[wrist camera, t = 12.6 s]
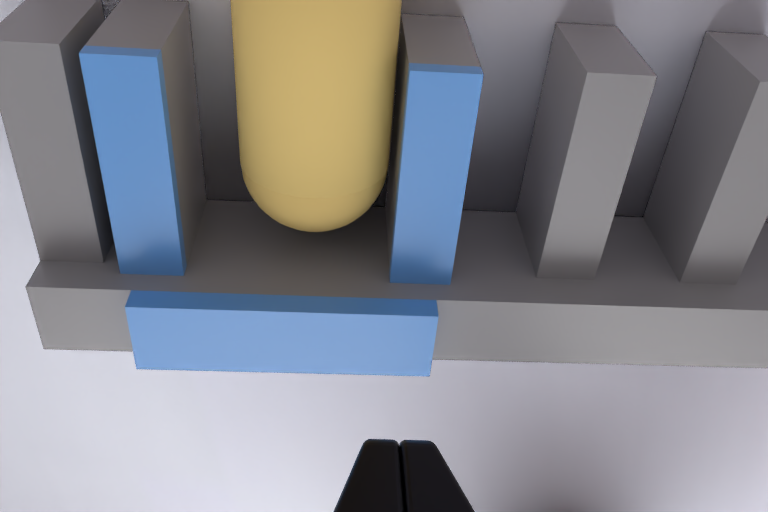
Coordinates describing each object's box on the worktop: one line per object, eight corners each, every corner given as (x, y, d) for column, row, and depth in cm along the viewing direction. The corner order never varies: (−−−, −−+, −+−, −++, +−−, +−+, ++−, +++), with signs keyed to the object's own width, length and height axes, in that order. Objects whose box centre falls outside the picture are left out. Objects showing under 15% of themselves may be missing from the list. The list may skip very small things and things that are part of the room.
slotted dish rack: (903, 281, 23) (1007, 390, 19) (90, 252, 21) (35, 366, 18) (1050, 51, 18) (1222, 137, 15) (34, -8, 17) (-55, 72, 13)
